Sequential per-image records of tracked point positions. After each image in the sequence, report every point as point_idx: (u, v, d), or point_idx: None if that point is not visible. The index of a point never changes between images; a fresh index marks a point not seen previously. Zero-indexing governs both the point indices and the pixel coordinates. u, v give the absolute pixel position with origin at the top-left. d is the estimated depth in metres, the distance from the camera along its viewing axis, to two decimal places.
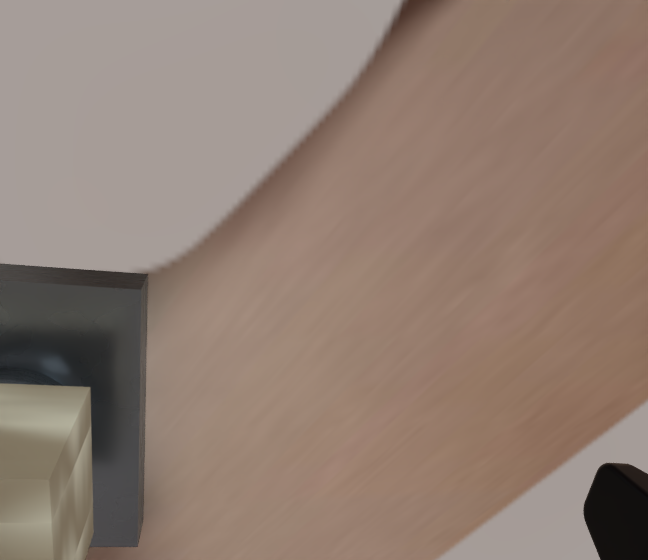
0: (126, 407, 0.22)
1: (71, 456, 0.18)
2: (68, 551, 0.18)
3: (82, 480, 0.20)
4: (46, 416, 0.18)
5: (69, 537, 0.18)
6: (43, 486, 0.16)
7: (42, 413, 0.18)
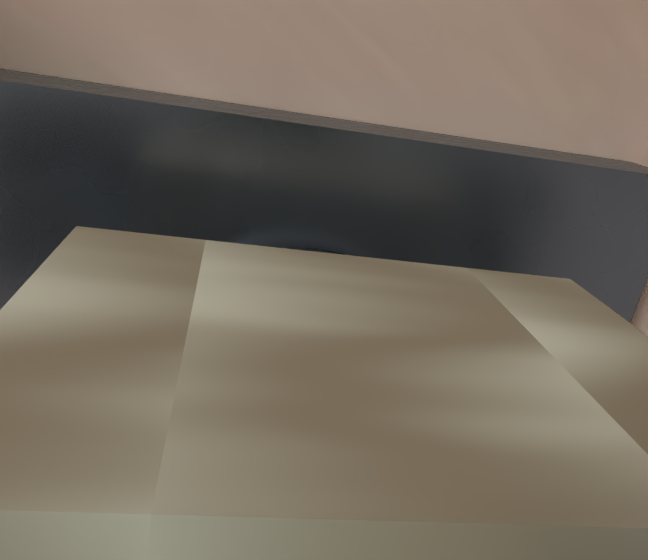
0: (262, 151, 0.09)
1: (107, 326, 0.05)
2: (498, 395, 0.05)
3: (322, 292, 0.06)
4: None
5: (444, 381, 0.05)
6: None
7: None
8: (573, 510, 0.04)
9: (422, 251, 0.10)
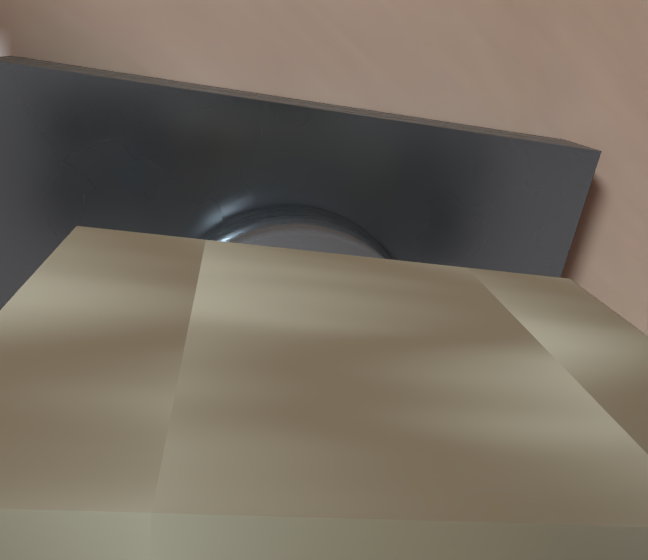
0: (261, 126, 0.11)
1: (108, 326, 0.05)
2: (497, 394, 0.05)
3: (322, 291, 0.06)
4: None
5: (443, 380, 0.05)
6: None
7: None
8: (570, 510, 0.04)
9: (389, 209, 0.12)
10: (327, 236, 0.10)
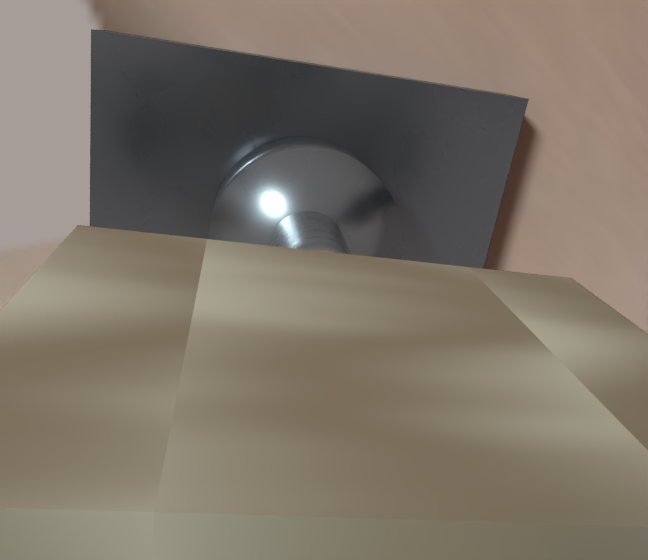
0: (282, 79, 0.16)
1: (110, 325, 0.05)
2: (500, 393, 0.05)
3: (324, 291, 0.06)
4: None
5: (446, 379, 0.05)
6: None
7: None
8: (576, 509, 0.04)
9: (374, 141, 0.17)
10: (329, 150, 0.15)
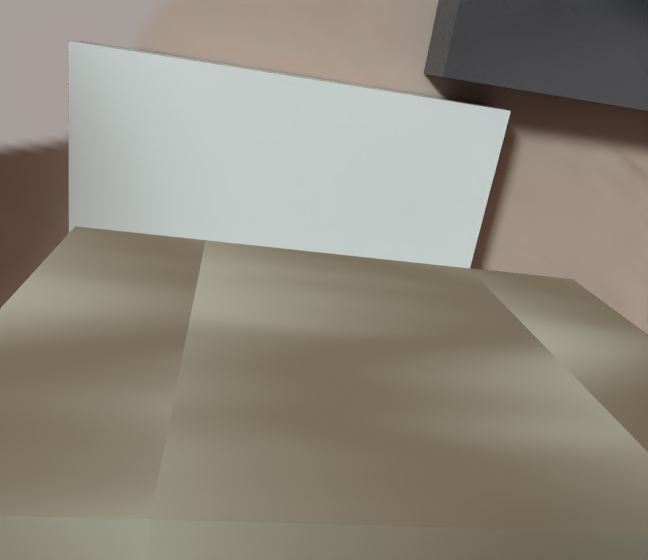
0: None
1: (108, 328, 0.05)
2: (501, 397, 0.05)
3: (324, 293, 0.06)
4: None
5: (446, 383, 0.05)
6: None
7: None
8: (578, 515, 0.04)
9: None
10: None
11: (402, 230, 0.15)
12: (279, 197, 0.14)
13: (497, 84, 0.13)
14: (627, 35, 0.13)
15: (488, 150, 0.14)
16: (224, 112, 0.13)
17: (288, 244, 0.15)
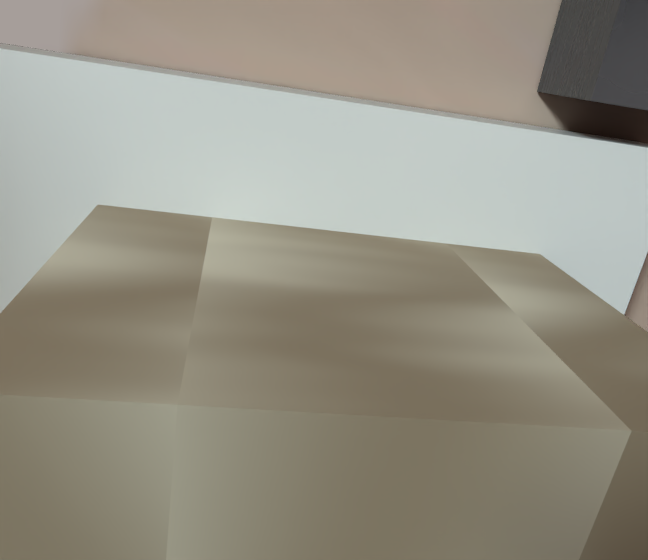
0: None
1: (133, 281, 0.06)
2: (461, 337, 0.06)
3: (315, 259, 0.07)
4: None
5: (416, 326, 0.06)
6: None
7: None
8: (511, 414, 0.04)
9: None
10: None
11: None
12: None
13: None
14: None
15: (642, 215, 0.09)
16: (215, 160, 0.08)
17: None
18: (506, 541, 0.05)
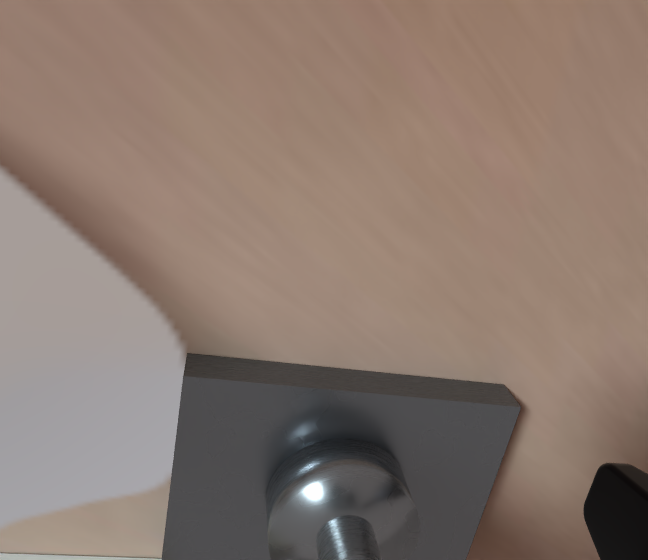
0: (329, 401, 0.20)
1: None
2: None
3: None
4: None
5: None
6: None
7: None
8: None
9: (398, 438, 0.21)
10: (367, 476, 0.19)
11: None
12: None
13: None
14: None
15: None
16: None
17: None
18: None
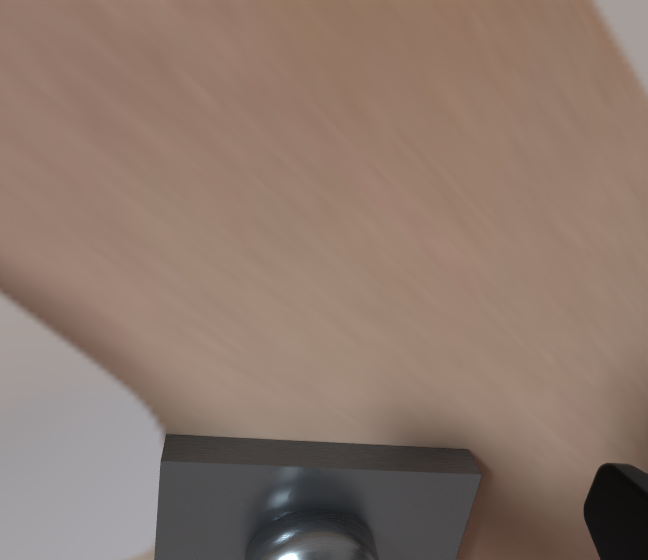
0: (298, 477, 0.21)
1: None
2: None
3: None
4: None
5: None
6: None
7: None
8: None
9: (366, 507, 0.22)
10: (333, 550, 0.20)
11: None
12: None
13: None
14: None
15: None
16: None
17: None
18: None
